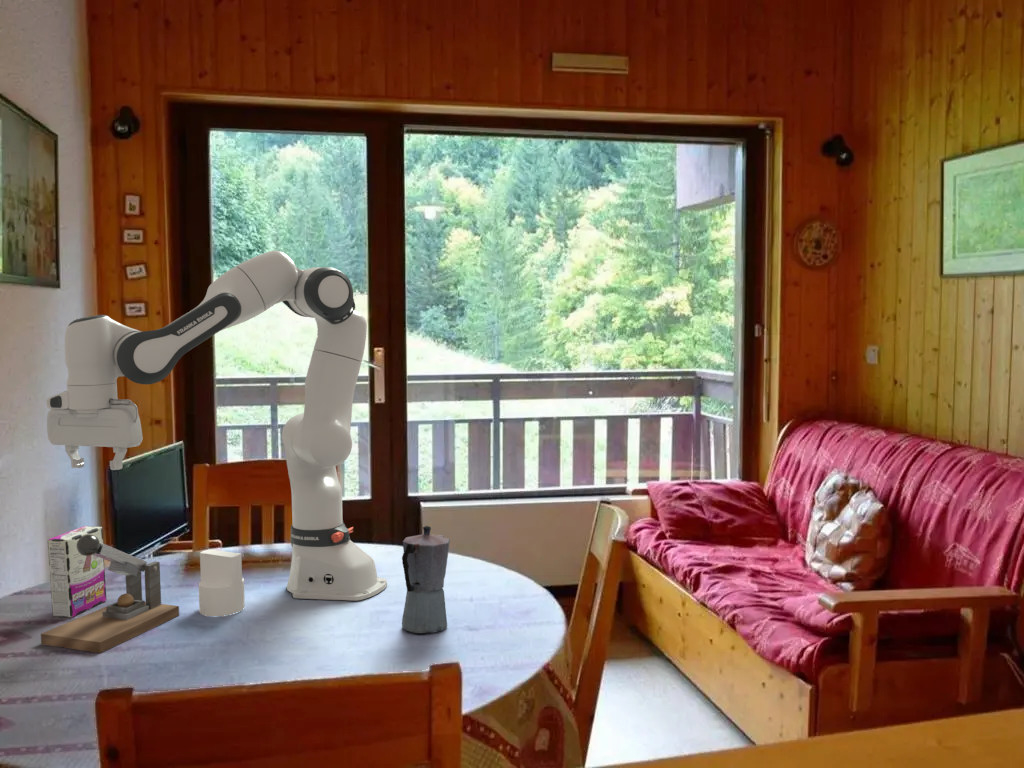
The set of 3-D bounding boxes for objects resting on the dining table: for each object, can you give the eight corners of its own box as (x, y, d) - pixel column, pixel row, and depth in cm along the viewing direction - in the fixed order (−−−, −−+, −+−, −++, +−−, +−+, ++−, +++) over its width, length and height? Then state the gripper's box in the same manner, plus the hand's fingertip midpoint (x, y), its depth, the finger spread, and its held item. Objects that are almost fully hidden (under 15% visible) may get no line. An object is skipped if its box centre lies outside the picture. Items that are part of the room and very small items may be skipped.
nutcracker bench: (179, 615, 179) (177, 563, 178) (100, 653, 159) (97, 594, 158) (124, 608, 184) (122, 557, 183) (41, 644, 164) (38, 586, 163)
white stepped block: (253, 605, 185) (252, 550, 184) (223, 619, 177) (221, 561, 176) (221, 600, 189) (219, 545, 188) (190, 613, 181) (188, 556, 180)
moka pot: (462, 618, 177) (461, 520, 175) (430, 645, 162) (429, 539, 161) (419, 613, 180) (418, 517, 178) (384, 639, 165) (382, 535, 164)
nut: (137, 607, 175) (136, 592, 175) (126, 611, 173) (125, 597, 172) (125, 605, 176) (124, 590, 176) (114, 610, 174) (113, 595, 173)
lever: (143, 579, 176) (150, 557, 178) (84, 556, 162) (93, 532, 164) (127, 577, 177) (134, 555, 179) (67, 554, 163) (76, 530, 165)
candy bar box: (86, 599, 190) (83, 525, 188) (107, 601, 189) (104, 526, 187) (49, 617, 179) (46, 538, 177) (71, 618, 178) (67, 539, 176)
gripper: (148, 397, 171) (151, 467, 172) (64, 396, 177) (68, 463, 178) (124, 401, 165) (128, 473, 166) (39, 399, 171) (43, 469, 172)
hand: (97, 468), depth 172 cm, fingers open, 8 cm apart
